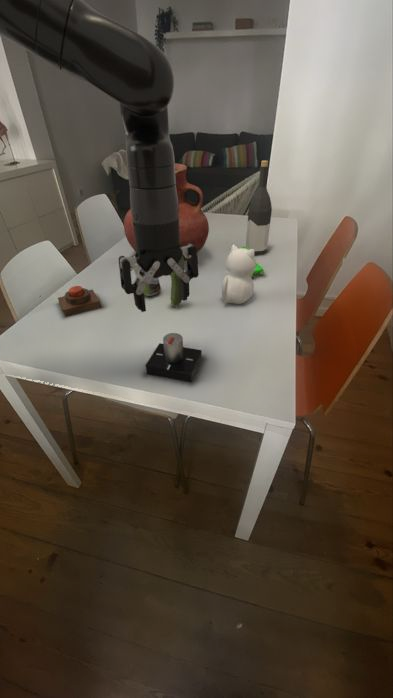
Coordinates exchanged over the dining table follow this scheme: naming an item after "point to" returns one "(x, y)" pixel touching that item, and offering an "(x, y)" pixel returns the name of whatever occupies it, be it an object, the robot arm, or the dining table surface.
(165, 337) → the hob knob
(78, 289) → the button
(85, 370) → the dining table surface
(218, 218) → the dining table surface
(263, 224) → the wine bottle
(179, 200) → the clay pot
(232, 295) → the cat figurine
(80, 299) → the button block
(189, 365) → the panel
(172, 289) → the vegetable
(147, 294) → the beverage can
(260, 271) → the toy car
